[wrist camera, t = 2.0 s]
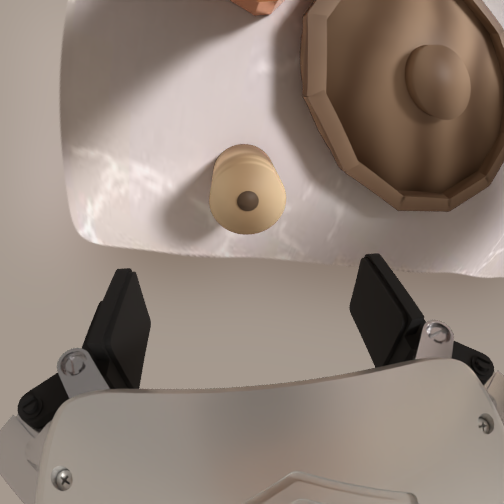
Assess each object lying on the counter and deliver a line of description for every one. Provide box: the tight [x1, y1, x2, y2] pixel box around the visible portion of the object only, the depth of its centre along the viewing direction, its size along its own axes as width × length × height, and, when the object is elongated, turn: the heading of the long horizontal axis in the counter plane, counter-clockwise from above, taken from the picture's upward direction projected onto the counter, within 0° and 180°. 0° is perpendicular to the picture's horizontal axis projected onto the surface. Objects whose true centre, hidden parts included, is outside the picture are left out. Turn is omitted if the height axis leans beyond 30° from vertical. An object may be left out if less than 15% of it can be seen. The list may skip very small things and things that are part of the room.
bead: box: [209, 144, 286, 234], centre depth 21 cm, size 5×5×6 cm
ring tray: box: [300, 0, 504, 212], centre depth 18 cm, size 25×25×2 cm
